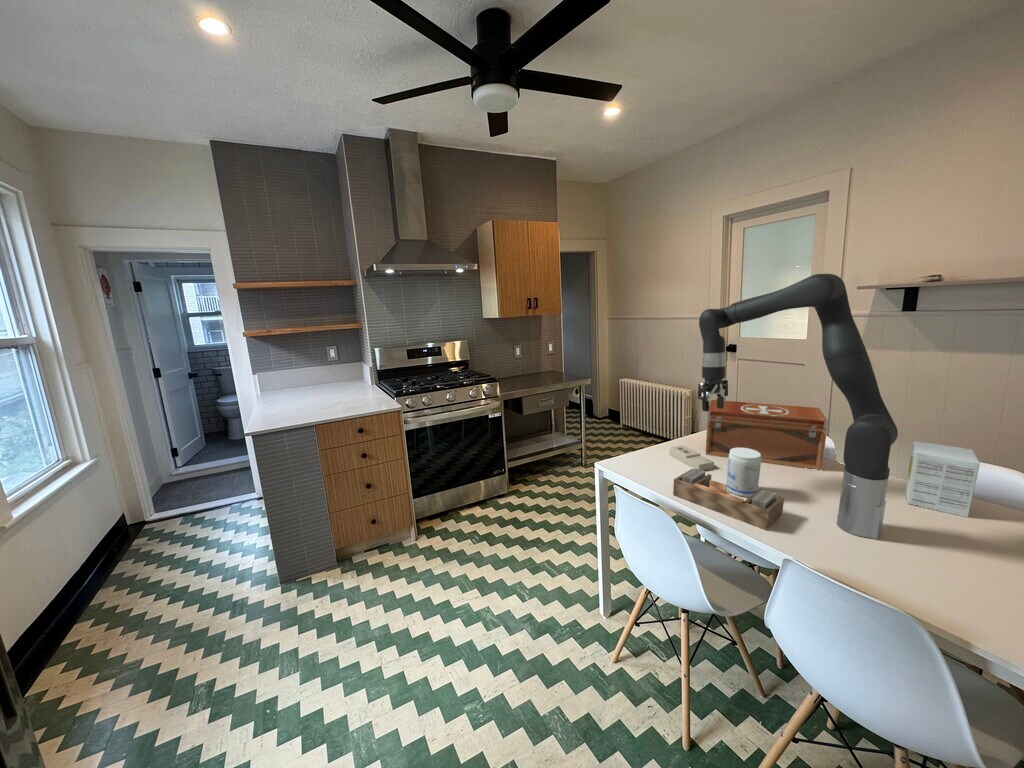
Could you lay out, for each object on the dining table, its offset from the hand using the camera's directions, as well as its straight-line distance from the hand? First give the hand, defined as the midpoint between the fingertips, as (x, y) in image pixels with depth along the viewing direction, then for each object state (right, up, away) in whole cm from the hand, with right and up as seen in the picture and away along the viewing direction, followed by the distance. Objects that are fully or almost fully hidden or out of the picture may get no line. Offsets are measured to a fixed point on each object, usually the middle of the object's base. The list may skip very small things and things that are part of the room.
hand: (713, 409), depth 140 cm
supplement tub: (+8, -29, -5) cm, 30 cm away
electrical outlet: (+2, -24, +22) cm, 32 cm away
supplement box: (+62, -29, -17) cm, 70 cm away
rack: (-3, -31, -13) cm, 33 cm away
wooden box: (+33, -21, +26) cm, 47 cm away
